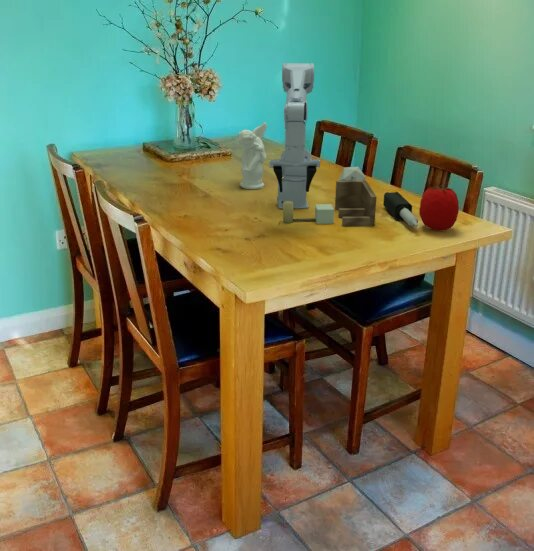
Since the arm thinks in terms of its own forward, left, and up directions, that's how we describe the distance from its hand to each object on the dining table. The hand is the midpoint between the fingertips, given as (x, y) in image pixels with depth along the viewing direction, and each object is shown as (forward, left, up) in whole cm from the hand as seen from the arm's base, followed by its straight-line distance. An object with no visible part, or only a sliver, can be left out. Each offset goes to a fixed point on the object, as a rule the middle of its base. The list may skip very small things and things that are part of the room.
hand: (294, 191), depth 202 cm
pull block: (+4, +3, -10) cm, 12 cm away
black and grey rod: (+33, +16, -8) cm, 37 cm away
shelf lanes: (+18, +7, -10) cm, 22 cm away
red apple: (+42, -5, -11) cm, 44 cm away
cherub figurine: (-12, +43, -11) cm, 46 cm away
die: (+23, +36, -11) cm, 44 cm away
